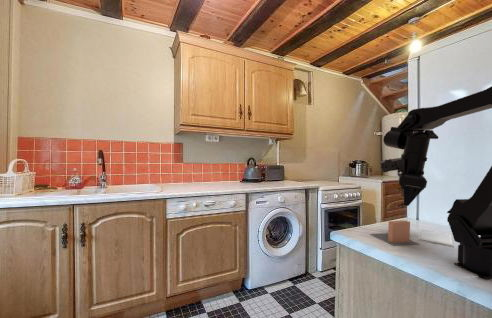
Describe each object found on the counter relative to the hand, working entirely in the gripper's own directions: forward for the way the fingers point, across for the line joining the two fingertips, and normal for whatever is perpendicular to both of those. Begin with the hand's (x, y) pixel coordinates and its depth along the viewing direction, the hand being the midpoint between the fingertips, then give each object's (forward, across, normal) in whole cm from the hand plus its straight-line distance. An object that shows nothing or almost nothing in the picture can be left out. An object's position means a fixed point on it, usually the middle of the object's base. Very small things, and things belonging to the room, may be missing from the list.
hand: (405, 200), depth 73 cm
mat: (+12, +5, -1) cm, 13 cm away
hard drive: (+12, -4, +10) cm, 16 cm away
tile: (+11, +6, 0) cm, 13 cm away
